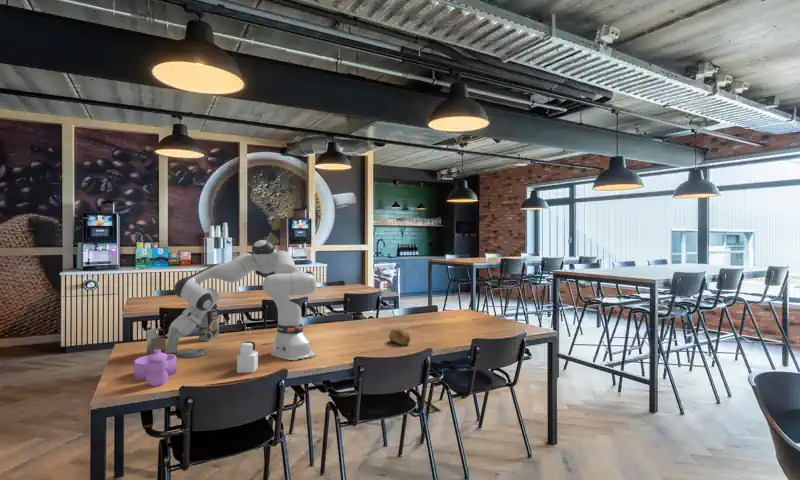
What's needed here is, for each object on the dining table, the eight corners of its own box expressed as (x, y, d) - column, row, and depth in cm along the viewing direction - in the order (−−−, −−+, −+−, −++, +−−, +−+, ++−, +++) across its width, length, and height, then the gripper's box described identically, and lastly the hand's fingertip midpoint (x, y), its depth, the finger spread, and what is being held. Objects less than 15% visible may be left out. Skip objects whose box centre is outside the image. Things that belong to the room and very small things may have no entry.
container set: (133, 372, 183) (134, 340, 183) (174, 366, 191) (174, 336, 191) (134, 390, 162) (134, 355, 162) (180, 383, 170) (180, 349, 170)
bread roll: (399, 347, 229) (399, 332, 228) (384, 341, 241) (384, 327, 241) (414, 345, 234) (414, 330, 234) (398, 339, 246) (399, 325, 246)
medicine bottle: (241, 367, 190) (241, 340, 190) (258, 367, 191) (258, 340, 191) (236, 373, 183) (236, 344, 183) (253, 372, 184) (254, 344, 183)
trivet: (209, 355, 209) (209, 352, 209) (182, 359, 201) (182, 357, 201) (201, 349, 218) (201, 347, 218) (175, 353, 210) (175, 351, 210)
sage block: (176, 352, 213) (180, 327, 214) (167, 353, 210) (171, 327, 211) (174, 351, 216) (178, 326, 217) (165, 351, 213) (169, 326, 214)
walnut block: (165, 358, 203) (165, 339, 203) (153, 360, 199) (153, 340, 199) (163, 356, 207) (163, 337, 206) (151, 358, 203) (151, 338, 203)
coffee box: (209, 341, 236) (209, 311, 235) (198, 340, 237) (198, 310, 237) (219, 337, 245) (219, 308, 244) (209, 336, 246) (209, 308, 246)
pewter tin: (159, 353, 212) (159, 330, 212) (147, 354, 209) (147, 331, 208) (157, 350, 216) (157, 328, 215) (145, 352, 212) (145, 329, 212)
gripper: (181, 309, 225) (159, 330, 219) (192, 315, 210) (170, 338, 203) (190, 316, 228) (169, 338, 222) (202, 323, 213) (180, 346, 206)
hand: (169, 338), depth 213 cm, fingers open, 8 cm apart
